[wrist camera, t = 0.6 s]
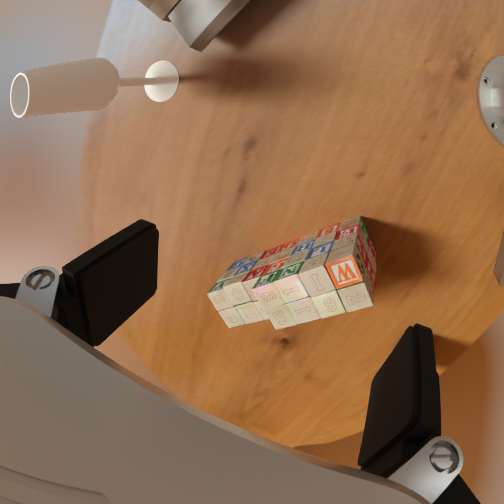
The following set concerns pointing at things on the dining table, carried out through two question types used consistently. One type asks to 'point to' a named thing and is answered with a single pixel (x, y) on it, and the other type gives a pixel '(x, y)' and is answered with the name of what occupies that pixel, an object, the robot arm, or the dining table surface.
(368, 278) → the stack of blocks
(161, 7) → the walnut floor strip
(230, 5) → the grey plank
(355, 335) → the dining table surface
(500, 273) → the wooden block
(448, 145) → the dining table surface
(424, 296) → the dining table surface
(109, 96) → the champagne flute
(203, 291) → the dining table surface
